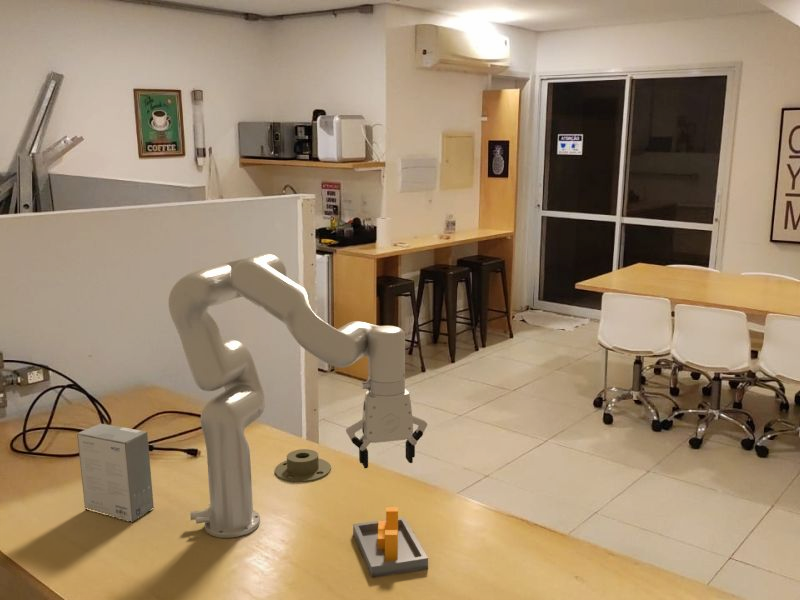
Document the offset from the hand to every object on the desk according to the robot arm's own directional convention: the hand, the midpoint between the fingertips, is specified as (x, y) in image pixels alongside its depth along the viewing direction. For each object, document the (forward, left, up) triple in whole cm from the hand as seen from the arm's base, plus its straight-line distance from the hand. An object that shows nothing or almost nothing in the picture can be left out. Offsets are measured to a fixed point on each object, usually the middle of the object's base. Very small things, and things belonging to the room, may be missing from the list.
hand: (387, 463), depth 159 cm
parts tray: (0, 0, -20) cm, 20 cm away
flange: (-12, +46, -21) cm, 52 cm away
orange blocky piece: (0, 0, -20) cm, 20 cm away
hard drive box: (-58, +36, -21) cm, 71 cm away
